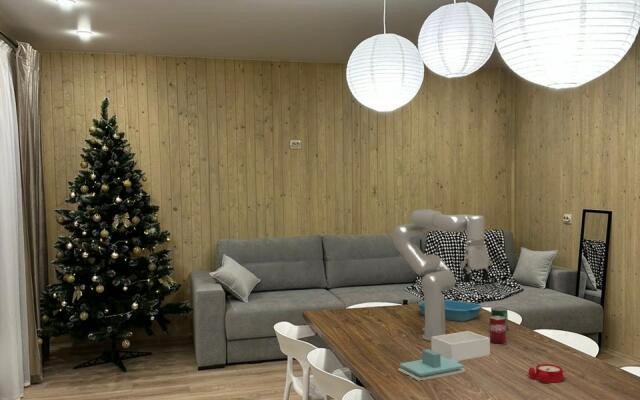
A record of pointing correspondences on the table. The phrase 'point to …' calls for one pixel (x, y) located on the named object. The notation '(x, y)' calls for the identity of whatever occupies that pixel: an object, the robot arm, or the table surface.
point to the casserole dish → (457, 310)
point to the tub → (461, 345)
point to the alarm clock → (547, 373)
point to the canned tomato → (500, 313)
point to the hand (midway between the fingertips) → (476, 281)
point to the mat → (430, 375)
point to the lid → (431, 364)
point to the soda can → (498, 330)
